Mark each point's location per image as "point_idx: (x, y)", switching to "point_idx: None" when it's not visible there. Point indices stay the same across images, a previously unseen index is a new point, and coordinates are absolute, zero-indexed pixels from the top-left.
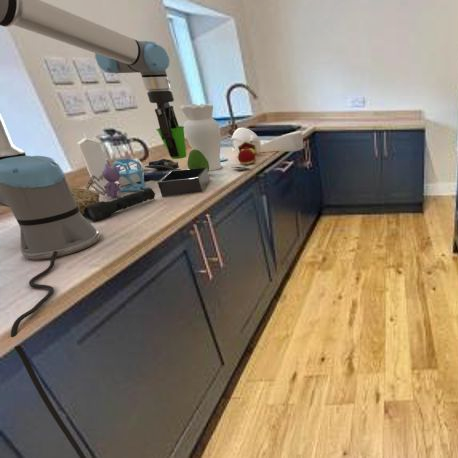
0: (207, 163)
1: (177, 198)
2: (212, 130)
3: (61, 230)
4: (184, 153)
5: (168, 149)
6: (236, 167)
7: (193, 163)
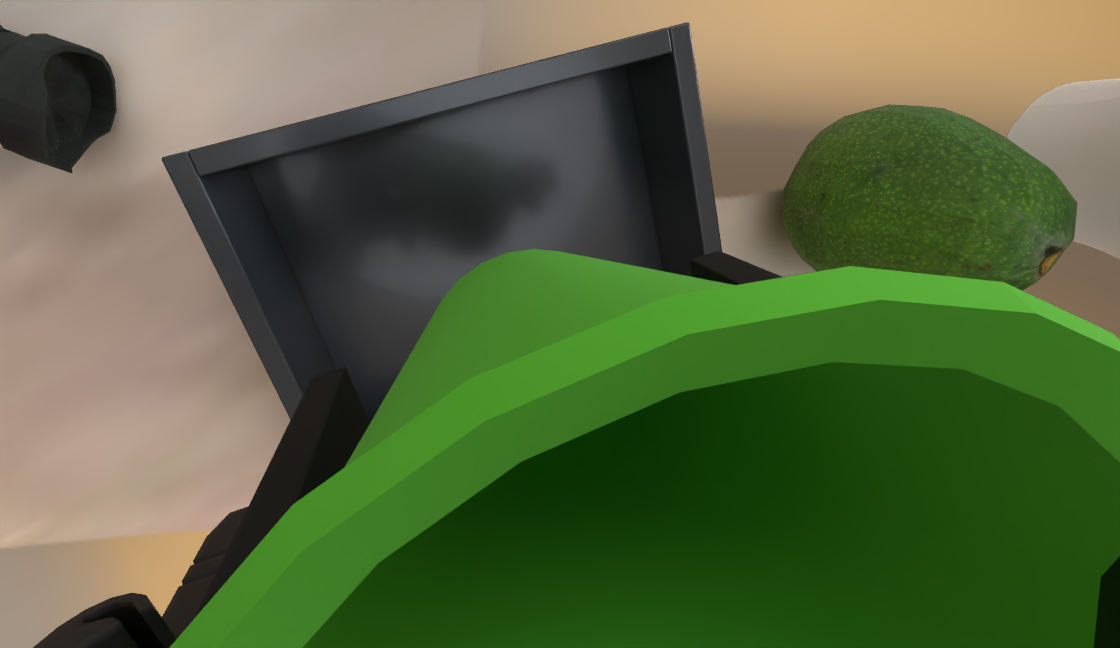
0: None
1: (183, 322)
2: None
3: None
4: (522, 470)
5: (281, 447)
6: None
7: (844, 216)
